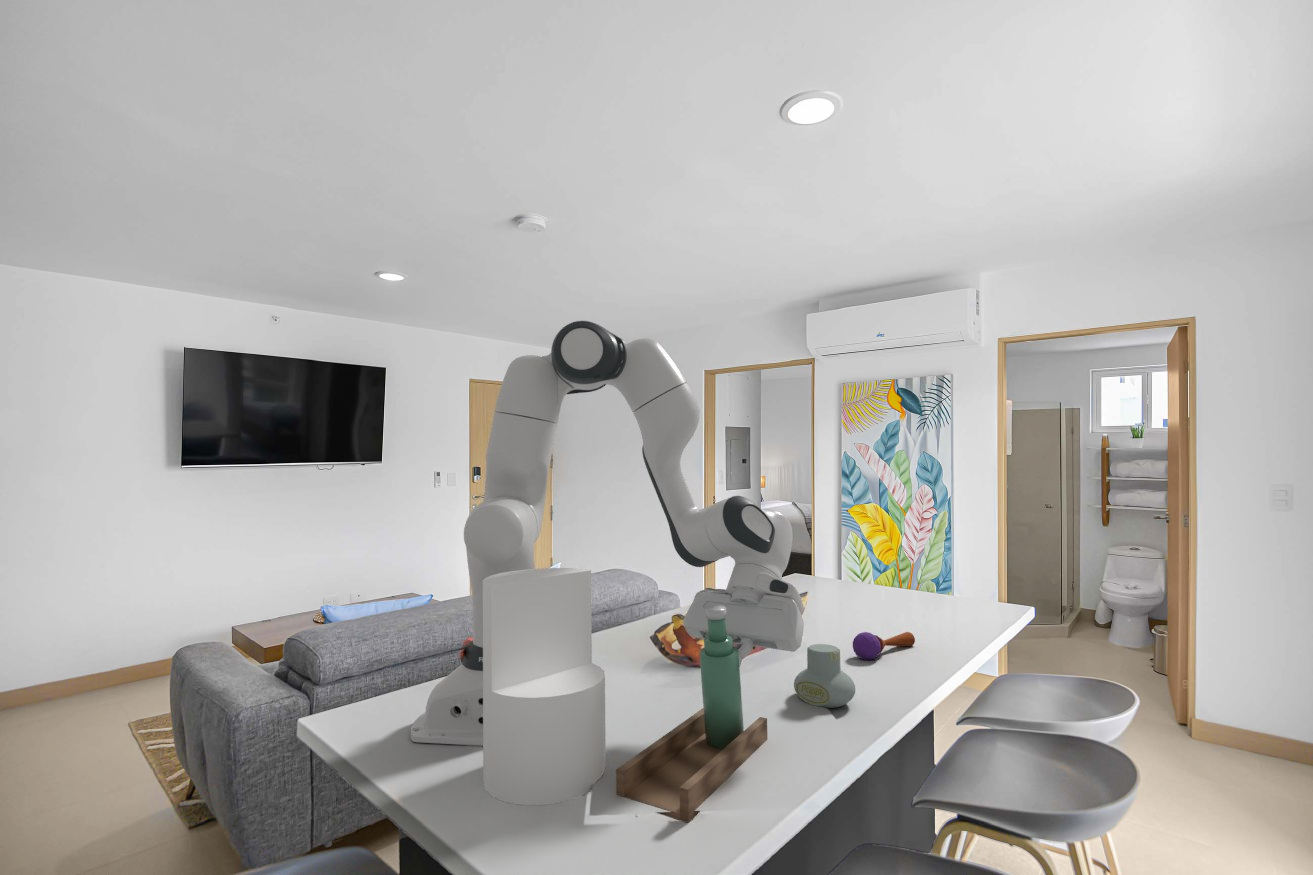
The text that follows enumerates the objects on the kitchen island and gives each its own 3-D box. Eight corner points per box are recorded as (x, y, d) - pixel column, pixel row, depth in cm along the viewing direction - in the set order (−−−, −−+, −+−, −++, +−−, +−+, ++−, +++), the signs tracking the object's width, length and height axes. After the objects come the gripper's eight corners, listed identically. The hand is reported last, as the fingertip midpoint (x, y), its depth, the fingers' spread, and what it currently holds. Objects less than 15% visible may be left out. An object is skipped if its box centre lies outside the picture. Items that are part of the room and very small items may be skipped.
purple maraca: (922, 631, 155) (872, 639, 143) (917, 656, 156) (867, 665, 143) (899, 622, 160) (849, 629, 148) (895, 645, 160) (845, 654, 148)
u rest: (706, 730, 109) (705, 706, 109) (767, 744, 103) (767, 718, 103) (616, 800, 86) (616, 769, 87) (688, 822, 81) (688, 789, 81)
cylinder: (460, 774, 94) (460, 578, 95) (559, 738, 106) (557, 564, 108) (528, 820, 82) (527, 594, 83) (630, 773, 94) (628, 576, 95)
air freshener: (786, 701, 121) (785, 647, 122) (810, 690, 127) (809, 638, 128) (840, 717, 114) (838, 658, 114) (863, 704, 120) (861, 648, 120)
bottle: (708, 751, 99) (698, 616, 98) (703, 731, 105) (694, 604, 104) (747, 747, 100) (738, 613, 98) (740, 727, 106) (731, 600, 104)
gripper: (692, 576, 117) (665, 645, 108) (804, 586, 107) (784, 663, 98) (704, 597, 121) (679, 665, 112) (813, 609, 110) (795, 685, 102)
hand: (729, 664), depth 105 cm, fingers closed
